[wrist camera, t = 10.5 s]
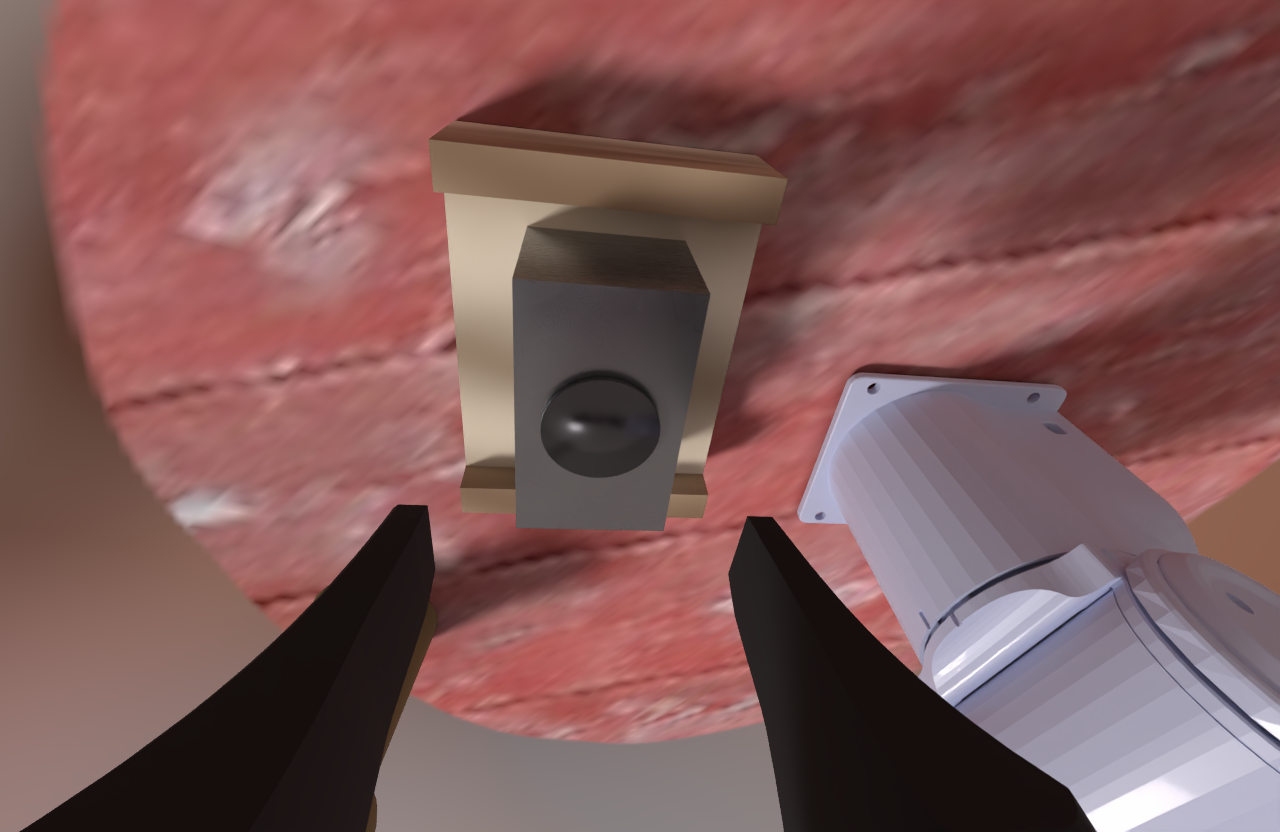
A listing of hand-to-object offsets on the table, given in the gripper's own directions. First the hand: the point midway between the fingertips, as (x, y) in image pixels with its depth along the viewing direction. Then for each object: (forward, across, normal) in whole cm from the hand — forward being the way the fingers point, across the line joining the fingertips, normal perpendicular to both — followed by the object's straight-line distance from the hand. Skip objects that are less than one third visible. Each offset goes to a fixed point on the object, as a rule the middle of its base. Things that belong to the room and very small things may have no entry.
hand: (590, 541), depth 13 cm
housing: (+7, 0, -1) cm, 7 cm away
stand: (+9, 0, -1) cm, 9 cm away
